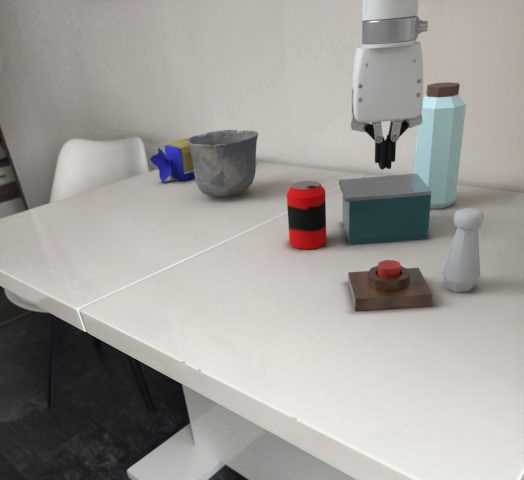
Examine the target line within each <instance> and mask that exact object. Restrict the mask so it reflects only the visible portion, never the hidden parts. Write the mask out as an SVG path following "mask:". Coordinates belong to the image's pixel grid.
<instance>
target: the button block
mask: <svg viewBox="0 0 524 480" xmlns="http://www.w3.org/2000/svg"><path fill="white" fill-rule="evenodd" d="M377 273H378V265H375V266H373V267H371V268H370V269H369V270H364V271H362V270H361V271H348V273H347V284H348V289H349V292H350V296H351V299H352V304H353V306H354V311H355V312H361V311H377V310H378V311H379V310H391V309H392V310H393V309H394V310H395V309H408V308H425V307H432V306H433V297H434V294H433V292H432V290H431V288H430V286H429V284H428V282H427V281H426V279H425V277H424V275H423V273H422V271H421V269H420V268H419V267H404V266H403V265H401V268H400V276H398V277H396V278H383V277H379V276H378V274H377Z"/></svg>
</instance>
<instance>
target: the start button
mask: <svg viewBox="0 0 524 480" xmlns="http://www.w3.org/2000/svg"><path fill="white" fill-rule="evenodd" d="M401 264H402V263H401V262H399V261H398V260H394V259H384V260H381V261H379V262H378V263H377V266H378V273H377V274H378V276H379V277H383V278H396V277H398V276H400V268H401V266H402V265H401Z"/></svg>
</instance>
